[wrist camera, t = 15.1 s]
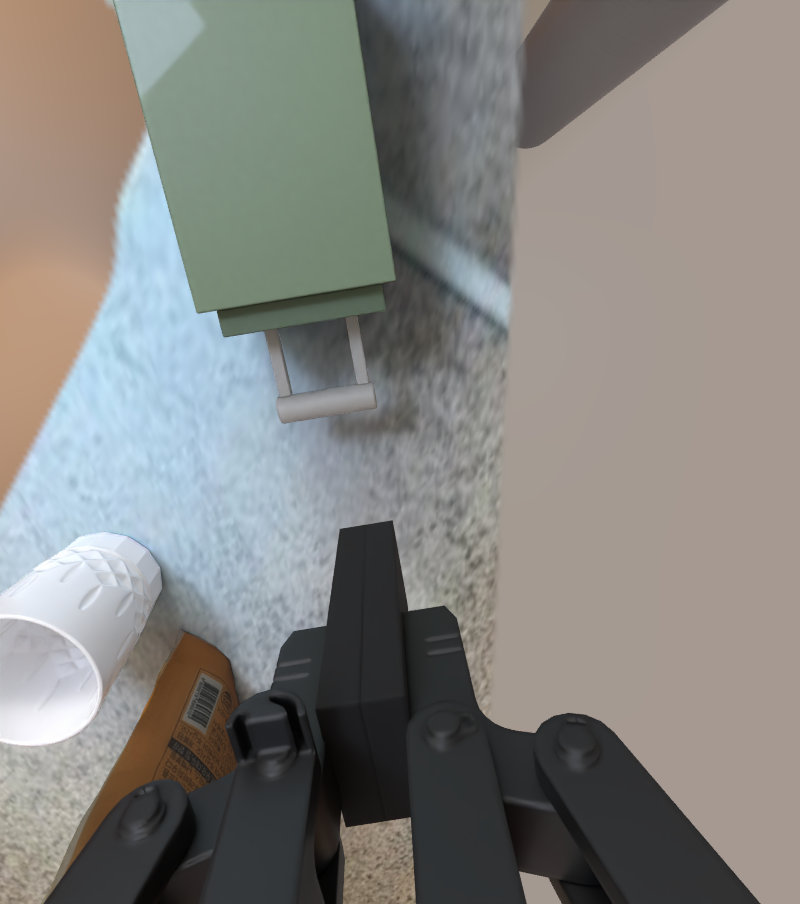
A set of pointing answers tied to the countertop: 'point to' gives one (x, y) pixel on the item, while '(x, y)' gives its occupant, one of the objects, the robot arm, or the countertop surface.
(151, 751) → the pancake mix bag
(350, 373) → the countertop surface
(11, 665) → the white cup
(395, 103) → the countertop surface
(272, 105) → the cabinet
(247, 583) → the countertop surface
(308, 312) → the drawer
